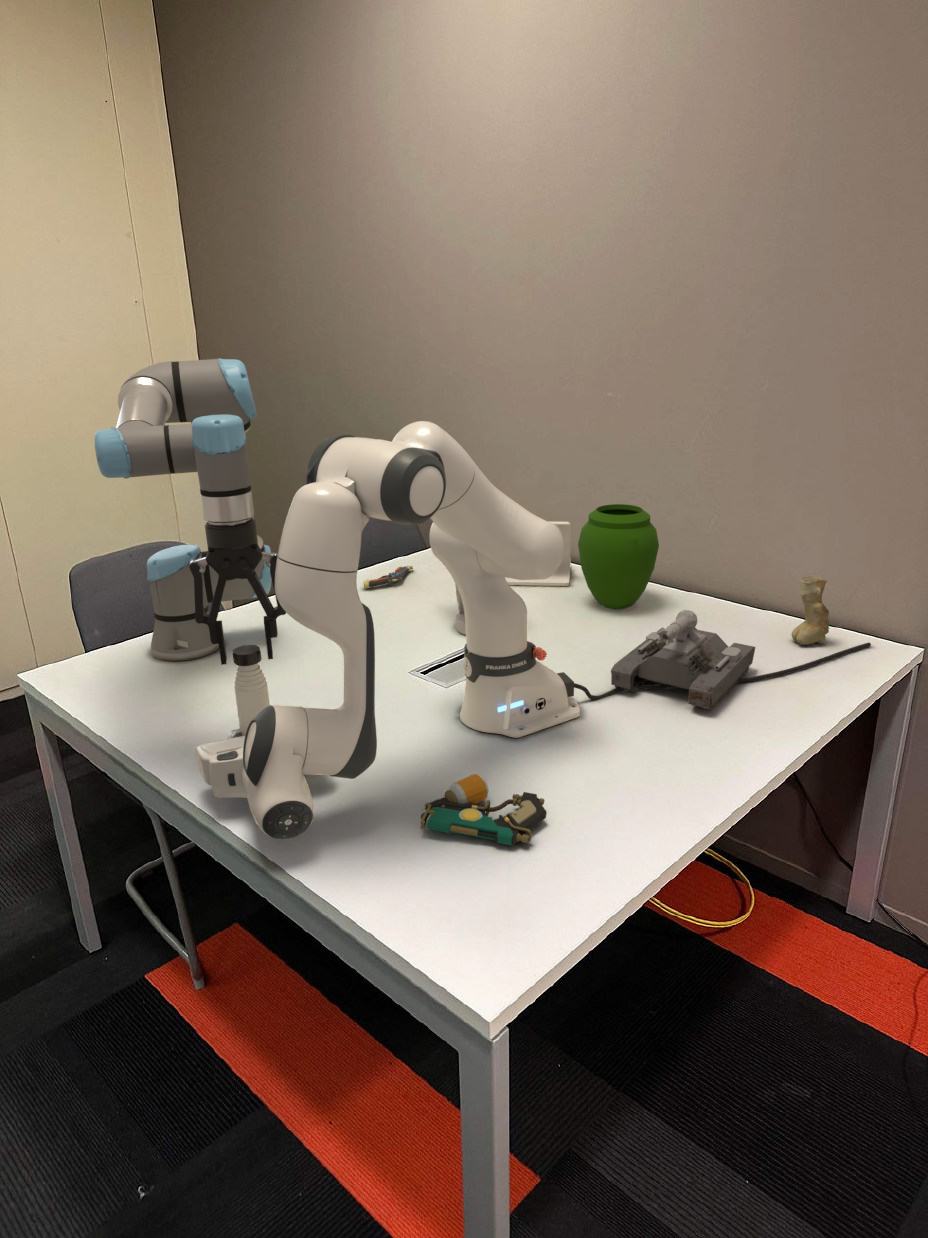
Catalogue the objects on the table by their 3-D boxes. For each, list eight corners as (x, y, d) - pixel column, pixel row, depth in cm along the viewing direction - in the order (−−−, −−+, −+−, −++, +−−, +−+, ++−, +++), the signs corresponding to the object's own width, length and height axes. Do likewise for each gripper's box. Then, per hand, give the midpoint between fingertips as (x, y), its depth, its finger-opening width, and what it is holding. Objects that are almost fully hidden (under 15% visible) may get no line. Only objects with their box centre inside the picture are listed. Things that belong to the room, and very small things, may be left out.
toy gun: (360, 581, 230) (396, 578, 228) (380, 565, 248) (413, 562, 246) (362, 591, 231) (397, 588, 228) (381, 574, 248) (414, 571, 246)
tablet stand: (569, 585, 229) (570, 524, 223) (476, 584, 232) (475, 523, 226) (570, 566, 246) (571, 508, 240) (484, 564, 249) (483, 507, 243)
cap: (250, 668, 136) (249, 656, 135) (228, 664, 137) (226, 652, 137) (267, 657, 139) (265, 646, 139) (244, 654, 141) (243, 643, 140)
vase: (599, 587, 227) (601, 497, 218) (668, 600, 216) (673, 505, 208) (562, 608, 212) (564, 513, 204) (634, 623, 202) (639, 523, 193)
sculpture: (787, 638, 190) (794, 574, 185) (818, 636, 191) (826, 572, 186) (799, 648, 185) (807, 582, 180) (831, 646, 186) (840, 580, 180)
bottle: (264, 775, 142) (250, 660, 135) (238, 769, 144) (223, 655, 136) (282, 760, 146) (269, 647, 139) (257, 755, 148) (243, 644, 141)
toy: (661, 649, 187) (665, 584, 181) (753, 669, 176) (760, 600, 170) (609, 692, 167) (612, 620, 162) (708, 717, 156) (715, 641, 151)
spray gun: (557, 816, 129) (509, 874, 118) (464, 782, 137) (410, 832, 126) (559, 793, 127) (509, 849, 116) (464, 759, 135) (409, 808, 124)
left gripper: (293, 509, 135) (307, 643, 143) (165, 519, 132) (186, 656, 140) (295, 520, 129) (309, 660, 137) (160, 531, 125) (182, 674, 133)
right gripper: (333, 736, 134) (315, 701, 146) (199, 763, 127) (191, 724, 139) (337, 771, 136) (318, 733, 148) (204, 800, 129) (196, 758, 141)
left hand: (247, 658), depth 138 cm, fingers open, 7 cm apart
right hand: (255, 729), depth 144 cm, fingers closed on bottle, 5 cm apart
